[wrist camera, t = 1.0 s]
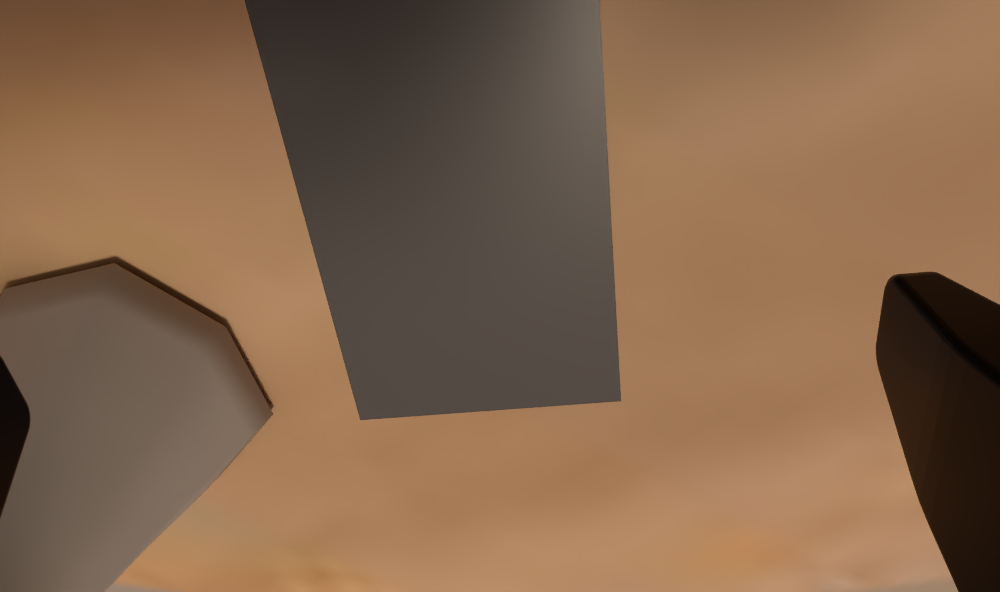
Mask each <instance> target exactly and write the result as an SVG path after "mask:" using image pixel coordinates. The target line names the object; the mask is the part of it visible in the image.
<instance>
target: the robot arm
mask: <svg viewBox="0 0 1000 592" xmlns="http://www.w3.org/2000/svg"><path fill="white" fill-rule="evenodd" d="M876 358H877V364H878V369H879V372H880V376H881V379H882V382H883V386H884V389H885V392H886V395H887V399H888V402H889V405H890V409H891V412H892V415H893V419H894V422H895V425H896V429H897V432H898V435H899V438H900V442H901V445H902V448H903V452H904V455H905V458H906V462H907V465H908V468H909V471H910V475H911V478H912V481H913V484H914V487H915V490H916V493H917V496H918V499H919V502H920V505H921V507H922V510H923V512H924V514H925V517H926V519H927V522H928V524H929V526H930V529H931V531H932V533H933V535H934V538H935V540H936V542H937V544H938V547H939V549H940V551H941V553H942V556H943V558H944V560H945V562H946V565H947V567H948V569H949V571H950V574H951V576H952V578H953V580H954V582H955V585H956V587H957V589H958V592H1000V305H999V304H997V303H995V302H993V301H991V300H989V299H988V298H986V297H984V296H982V295H980V294H978V293H976V292H974V291H972V290H970V289H968V288H966V287H964V286H962V285H960V284H959V283H957V282H955V281H953V280H951V279H949V278H947V277H945V276H943V275H941V274H939V273H936V272H919V273H908V274H896V275H893V276H892V277H891V278H890V279H889V280H888V282H887V284H886V286H885V290H884V295H883V302H882V308H881V315H880V321H879V328H878V335H877V341H876ZM30 420H31V419H30V410H29V406H28V404H27V402H26V400H25V398H24V396H23V395H22V393H21V391H20V389H19V387H18V386H17V384H16V382H15V380H14V378H13V376H12V375H11V373H10V371H9V369H8V367H7V366H6V364H5V362H4V360H3V358H2V357H1V356H0V518H1V515H2V512H3V509H4V506H5V503H6V500H7V497H8V494H9V490H10V487H11V484H12V481H13V478H14V475H15V472H16V469H17V466H18V463H19V460H20V457H21V454H22V451H23V447H24V444H25V441H26V438H27V435H28V432H29V428H30Z"/></svg>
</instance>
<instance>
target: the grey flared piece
mask: <svg viewBox="0 0 1000 592" xmlns="http://www.w3.org/2000/svg"><path fill="white" fill-rule="evenodd" d="M0 356H1V357H2V358H3V360H4V362H5V364H6V366H7V367H8V369H9V371H10V373H11V375H12V376H13V378H14V380H15V382H16V384H17V386H18V387H19V389H20V391H21V393H22V395H23V396H24V398H25V400H26V402H27V404H28V406H29V410H30V419H31V420H30V428H29V432H28V435H27V438H26V441H25V444H24V447H23V451H22V454H21V457H20V460H19V463H18V466H17V469H16V472H15V475H14V478H13V481H12V484H11V487H10V490H9V494H8V497H7V500H6V503H5V506H4V509H3V512H2V515H1V518H0V592H105V591H106V590H107V589H108V588H109V587H110V586H111V585H112V584H113V583H114V582H115V581H116V579H117V578H118V577H119V576H120V575H121V574H122V573H123V572H124V571H125V570H126V569H127V568H128V567H129V566H130V565H131V564H132V563H133V562H134V561H135V559H136V558H137V557H138V556H139V555H140V554H141V553H142V552H143V551H144V550H145V549H146V548H147V547H148V546H149V545H150V544H151V543H152V542H153V541H154V540H155V539H156V538H157V537H158V536H159V535H160V534H161V533H162V532H163V531H165V530H166V529H167V528H168V527H169V526H170V525H171V524H172V523H173V522H174V521H175V520H176V519H177V518H178V517H179V516H180V515H181V514H182V513H183V512H184V511H185V510H186V509H187V508H188V507H189V506H190V505H191V504H192V503H194V502H195V501H196V500H197V499H198V498H199V497H200V496H201V495H202V494H203V493H204V492H205V491H206V490H207V489H208V488H209V486H210V485H211V484H212V483H213V482H214V481H215V480H216V479H217V478H218V477H219V476H220V475H221V474H222V473H223V472H224V470H225V469H226V468H227V467H228V466H229V465H230V463H231V462H232V461H233V460H234V459H235V458H236V456H237V455H238V454H239V453H240V452H241V451H242V450H243V448H244V447H245V446H246V445H247V444H248V443H249V441H250V440H251V439H252V438H253V437H254V436H255V434H256V433H257V432H258V431H259V430H260V429H261V428H262V426H263V425H264V424H265V423H266V422H267V421H268V419H269V418H270V417H271V416H272V415H273V412H272V411H271V409H270V407H269V405H268V403H267V401H266V400H265V398H264V396H263V394H262V392H261V390H260V389H259V387H258V385H257V383H256V381H255V379H254V378H253V376H252V374H251V372H250V370H249V368H248V367H247V365H246V363H245V361H244V359H243V357H242V356H241V354H240V352H239V350H238V348H237V346H236V345H235V343H234V341H233V339H232V337H231V335H230V334H229V332H228V330H227V328H226V327H225V326H224V325H222V324H220V323H218V322H217V321H215V320H213V319H211V318H210V317H208V316H206V315H204V314H203V313H201V312H199V311H197V310H196V309H194V308H192V307H190V306H189V305H187V304H185V303H183V302H182V301H180V300H178V299H176V298H175V297H173V296H171V295H169V294H168V293H166V292H164V291H162V290H161V289H159V288H157V287H155V286H154V285H152V284H150V283H148V282H147V281H145V280H143V279H141V278H140V277H138V276H136V275H134V274H133V273H131V272H129V271H127V270H126V269H124V268H122V267H120V266H119V265H117V264H115V263H113V264H108V265H104V266H100V267H95V268H91V269H87V270H82V271H78V272H74V273H69V274H65V275H61V276H56V277H52V278H48V279H43V280H39V281H35V282H30V283H26V284H22V285H17V286H13V287H9V288H5V289H4V291H3V293H2V294H1V296H0Z"/></svg>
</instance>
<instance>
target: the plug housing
mask: <svg viewBox="0 0 1000 592" xmlns="http://www.w3.org/2000/svg"><path fill="white" fill-rule="evenodd" d="M245 3H246V7H247V10H248V14H249V18H250V21H251V25H252V29H253V32H254V36H255V39H256V43H257V47H258V50H259V54H260V58H261V61H262V65H263V69H264V72H265V76H266V79H267V83H268V87H269V90H270V94H271V98H272V101H273V105H274V108H275V112H276V116H277V119H278V123H279V127H280V130H281V134H282V138H283V141H284V145H285V148H286V152H287V156H288V159H289V163H290V167H291V170H292V174H293V177H294V181H295V185H296V188H297V192H298V196H299V199H300V203H301V207H302V210H303V214H304V217H305V221H306V225H307V228H308V232H309V236H310V239H311V243H312V246H313V250H314V254H315V257H316V261H317V265H318V268H319V272H320V275H321V279H322V283H323V286H324V290H325V294H326V297H327V301H328V305H329V308H330V312H331V315H332V319H333V323H334V326H335V330H336V334H337V337H338V341H339V344H340V348H341V352H342V355H343V359H344V363H345V366H346V370H347V374H348V377H349V381H350V384H351V388H352V392H353V395H354V399H355V403H356V406H357V410H358V413H359V417H360V420H368V419H382V418H395V417H409V416H423V415H436V414H450V413H464V412H478V411H491V410H505V409H519V408H533V407H546V406H560V405H574V404H587V403H601V402H615V401H621V393H620V374H619V356H618V337H617V319H616V300H615V282H614V263H613V245H612V226H611V208H610V189H609V171H608V152H607V134H606V115H605V97H604V78H603V60H602V41H601V23H600V4H599V0H245Z"/></svg>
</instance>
